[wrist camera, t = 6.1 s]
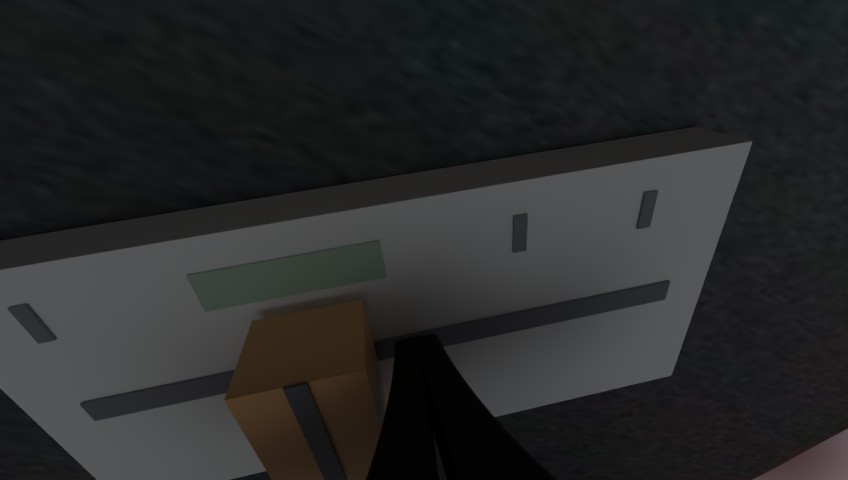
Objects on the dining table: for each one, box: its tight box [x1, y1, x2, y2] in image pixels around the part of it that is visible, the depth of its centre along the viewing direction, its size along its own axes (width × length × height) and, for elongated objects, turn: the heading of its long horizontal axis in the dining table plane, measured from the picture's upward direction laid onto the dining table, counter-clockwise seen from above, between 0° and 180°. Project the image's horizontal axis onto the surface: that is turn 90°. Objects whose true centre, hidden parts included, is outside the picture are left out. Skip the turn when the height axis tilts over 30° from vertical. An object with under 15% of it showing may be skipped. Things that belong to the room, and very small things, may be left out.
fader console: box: [0, 127, 753, 480], centre depth 13 cm, size 10×22×2 cm, turn 96°
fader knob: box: [224, 299, 388, 480], centre depth 10 cm, size 5×3×3 cm, turn 6°
